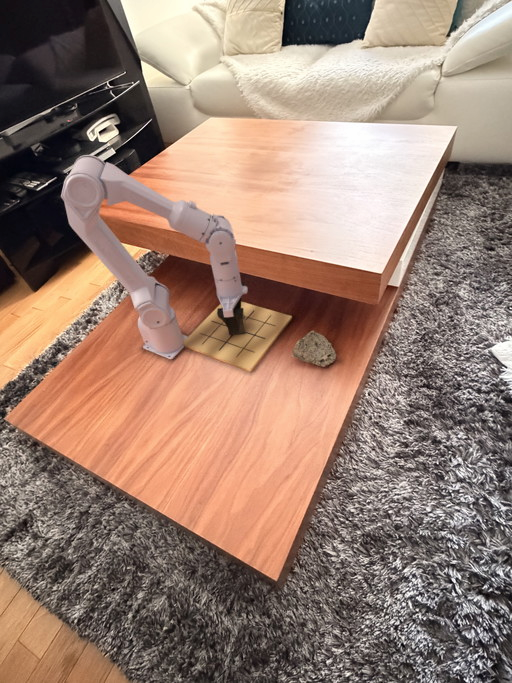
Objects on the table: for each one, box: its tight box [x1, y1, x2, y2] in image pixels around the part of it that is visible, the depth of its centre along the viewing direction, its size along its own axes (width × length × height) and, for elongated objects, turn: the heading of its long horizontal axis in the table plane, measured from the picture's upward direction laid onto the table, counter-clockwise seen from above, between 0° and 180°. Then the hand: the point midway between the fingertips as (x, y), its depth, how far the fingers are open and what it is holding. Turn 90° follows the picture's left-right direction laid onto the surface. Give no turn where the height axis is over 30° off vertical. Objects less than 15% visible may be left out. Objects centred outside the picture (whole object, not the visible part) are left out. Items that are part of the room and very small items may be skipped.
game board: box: [183, 301, 293, 373], centre depth 96 cm, size 20×20×1 cm
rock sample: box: [291, 330, 338, 368], centre depth 86 cm, size 10×8×9 cm
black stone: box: [228, 308, 246, 335], centre depth 94 cm, size 4×4×5 cm
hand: (235, 320), depth 94 cm, fingers open, 7 cm apart
